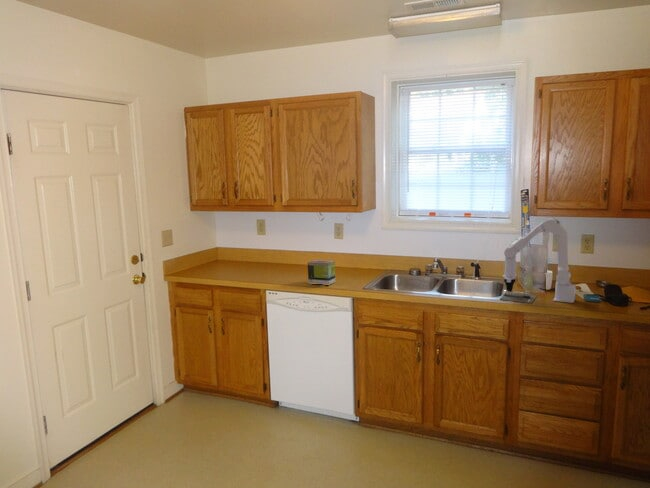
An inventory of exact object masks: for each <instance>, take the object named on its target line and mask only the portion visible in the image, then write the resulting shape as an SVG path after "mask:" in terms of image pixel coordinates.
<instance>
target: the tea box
mask: <svg viewBox="0 0 650 488" xmlns="http://www.w3.org/2000/svg"><path fill="white" fill-rule="evenodd" d="M307 276H308V277H307V279H308V284H309V283H318V284H328V285H329V284H331V283H333V282H335V283H336V265H335V260H325V259H320V260H319V259H313V260H311V261H308V262H307Z"/></svg>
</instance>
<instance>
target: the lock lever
mask: <svg viewBox="0 0 650 488" xmlns="http://www.w3.org/2000/svg"><path fill="white" fill-rule="evenodd" d="M502 294H503V295H510V296H519V297H525V298H530V296H531V292H522V291H513V290H512V291H508V290H507V289H503V293H502ZM503 295H502V296H503Z"/></svg>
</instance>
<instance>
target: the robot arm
mask: <svg viewBox="0 0 650 488" xmlns="http://www.w3.org/2000/svg"><path fill="white" fill-rule="evenodd" d="M545 232H548V233H552V235H554V236H555V237H556V241H557V242H556V243H557V244H556V245H557V274H556V277H555V280H556V281H555V291H554V298H553V299H552V301H554V302H561V303H569V304H570V303H572V304H573V303H574V302H575V299H576V284H573V283H572V282H571V280H570V279H571V277H572V274H571V272H570V269H569V253H568V252H569V251H568V232H567V230H566V228H565V227H564V226H563V225H562V223H561V222H560V220H558V219H556V218H554V217H549V218H547V219H546V220H544V221H542V222H541V223H540V224H538V225H536V226H535V227H534V228H533V229H532V230H531V231H530V232H528V233H527V234H526V235H525V236H524V237H520V236H519V237H517V238H516V239H515V241H514V242H512V243H511V244H509V247H507V248H505V250H504V253H503V254H504V256H505V257H504V274H503V275H502V278H504V280H503V282H504V283H505V287H506V290H508V291H513V288H514V285H515V284H514V283H516V278H517V275H516V272H517V270H516V268H517V259H516V257H517V254H518V253H520V252H521V251H522V250H524V249H525V248H526V247H527V246H528V244H529V241H530V240H532V239H533V238H534V237H536V236H537V235H539V233H545Z"/></svg>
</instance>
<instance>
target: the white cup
mask: <svg viewBox="0 0 650 488" xmlns="http://www.w3.org/2000/svg"><path fill="white" fill-rule="evenodd" d="M546 270H547V269H546ZM545 274H546V291H547V290H551V289H552V283H553V274H554V273H553V270H547V273H545Z"/></svg>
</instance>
